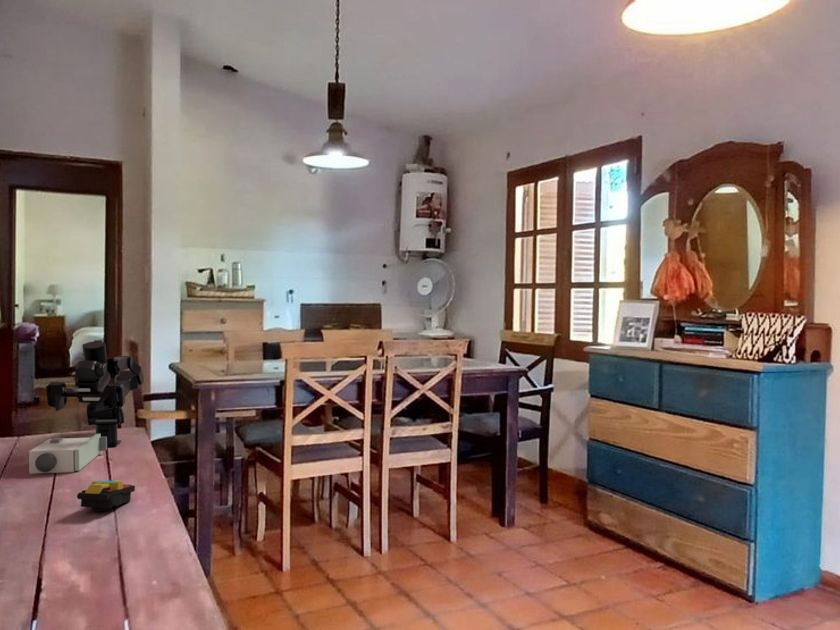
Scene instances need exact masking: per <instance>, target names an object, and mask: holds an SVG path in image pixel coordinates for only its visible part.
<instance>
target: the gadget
mask: <svg viewBox="0 0 840 630" xmlns="http://www.w3.org/2000/svg"><path fill="white" fill-rule="evenodd" d="M135 490H136V486H135V485H132V484H124V482H123V481H122V480H121V479H114V480H94V481H92V482H91V484H90V485H89V486H88V487H87V488H86V489H84V490H82V491H81V492H78V493H77V495H76V498H77V500H81V501H80V507H81V508H82V507H83V508H90V510H91V511H92V512H108V511H111V510H112V509H113V508H114V507H117V506H120V505H123V504H126V503H130V502H131V494H132V493H134V492H135Z"/></svg>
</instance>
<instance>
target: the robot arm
mask: <svg viewBox="0 0 840 630" xmlns="http://www.w3.org/2000/svg"><path fill="white" fill-rule="evenodd" d="M81 347H82V352H83V353H82V354H83V360H82V359H81V360H79V361H78V362H77V365H76V367H75V369H74V372H75V374H76V380H75V382H74V384H75V387H67V385H66V382H63V381H62V382H60V381H59V382H58V381H50V382H49V383H48V384H47V385H46V386H45V390H46V391H45V392H46V400H47V406H49V407H50V408H54V409H55V411H56V412H58V411H60V410H63V409H64V408H65V406H66V405H67V402H68V398H77V400H78V403H84V404H85V403H87V406H86V417H87V423H88V424H87V425H88V426H94V425H95V435H96V434H101V437H104V436H107V448H109V447H110V448H111V447H117V446H118V445H119V444H120V443H122V440H121V439H120V440H119V439H118V425H121V424H125V412H124V410H123V406H124V405H125V404H126V397H127V396H128V394H129V393H130V392H131V391H135V390H136V391H137V390H139V389H140V388H141V387H142V385H144V383H145V376H144V372H143V369H142V367H141V365H139V364H138V363H137V362H135V361H134V358H133V356H130V355H117V356H115V357H107V356H108V355H107V347H106V343H105V342H104V341H103V340H102V339H94V340H93V341H89V342H86V343H83V344H82V346H81ZM111 379H112V381H113V382H110V381H111Z"/></svg>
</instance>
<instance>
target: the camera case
mask: <svg viewBox="0 0 840 630" xmlns="http://www.w3.org/2000/svg"><path fill="white" fill-rule="evenodd" d="M90 438H91V437H70V438H69V437H68V438H67V437H66V438H63V437H53V438H49V439H46V440H45V441H44V442H42V443H40V444H39V445H37V446H35V447H34V448H32V449H30V450H29V451H28V457H29V458H28V461H29V462H28V465H29V467H28V468H29V470H28V472H29V475H30V474H31V475H32V474H33V475H34V474H56V473H59V474H60V473H74V472H76V471H75V449H76V448H78V447H79V446H80V445H82V444H83V443H84V442H86V441H87V440H89V439H90Z"/></svg>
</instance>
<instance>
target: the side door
mask: <svg viewBox="0 0 840 630" xmlns="http://www.w3.org/2000/svg"><path fill="white" fill-rule="evenodd" d="M89 438H90V439H89V440H87V441H86V442H84V443H83V444H82V445H80V446H79V447H78V448H76V449H75V471H74V472H76V471H77V472H78V471H81V470H82V469H83V468H84V467H85V466H86V465H87V466H88V464H89V463H90V462H91V461H92V460H94V459H95V458H97V456H99V455H100V454H101V452H104V451H107V450H108V447H107V436H104V437H101V434H96V433H95V434H94V435H93V436H92V437H89Z"/></svg>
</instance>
